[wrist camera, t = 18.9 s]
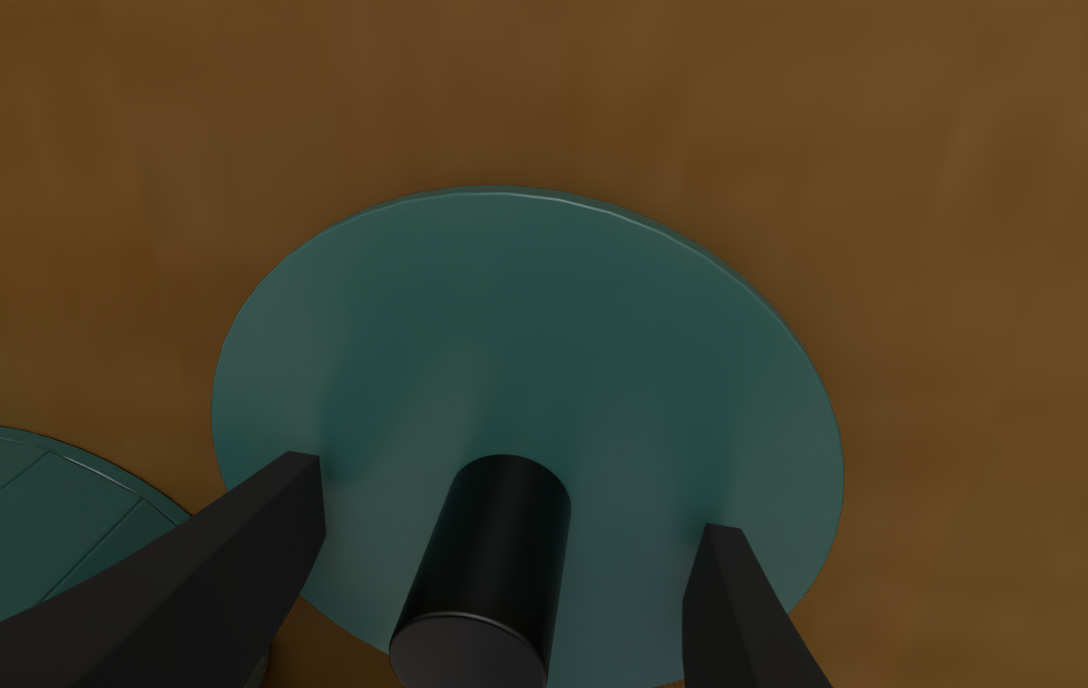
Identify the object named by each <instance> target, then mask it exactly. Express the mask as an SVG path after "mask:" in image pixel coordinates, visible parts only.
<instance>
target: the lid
mask: <svg viewBox="0 0 1088 688" xmlns="http://www.w3.org/2000/svg"><path fill="white" fill-rule="evenodd" d="M211 415H212V432H213V442H214V447H215V451H216V456H217V461H218V465H219V470H220V473H221V475H222V478H223V481H224V484H225V486H226V489H227V492H229V491H230V490H232V489H233V488H235V487H236V486H237V485H239V484H240V483H242V482H243V481H245V480H246V479H247V478H249V477H250V476H252V475H253V474H255V473H256V472H258V471H259V470H260V469H262V468H263V467H265V466H266V465H268V464H269V463H271V462H272V461H273V460H275V459H276V458H278V457H279V456H281V455H282V454H284V453H285V452H287V451H294V452H300V453H306V454H312V455H317V456H319V457H320V468H321V479H322V490H323V501H324V512H325V523H326V534H327V535H326V538H325V540H324V542H323V545H322V547H321V549H320V552H319V554H318V556H317V559H316V561H315V563H314V566H313V568H312V570H311V572H310V574H309V576H308V579H307V581H306V583H305V585H304V587H303V589H302V590H301V592H300V595H301V596H302V597H303V598H304V599H305V600H306V601H308V602H309V603H310V604H311V605H313V606H314V607H315V608H316V609H318V610H319V611H320V612H321V613H323V614H324V615H325V616H326V617H328V618H329V619H330V620H331V621H333V622H334V623H336V624H337V625H339V626H340V627H342V628H343V629H345V630H346V631H348V632H349V633H351V634H353V635H354V636H356V637H357V638H359V639H360V640H362V641H364V642H366V643H368V644H369V645H371V646H373V647H375V648H377V649H379V650H380V651H382V652H384V653H386V654H388V655H389V659H390V663H391V666H392V668H393V670H394V672H395V674H396V676H397V677H398V679H399V680H400V681H401V682H402V684H403V685H404V686H405V687H406V688H653V687H657V686H661V685H665V684H669V683H673V682H676V681H679V680H682V679H684V670H683V660H682V599H683V596H684V593H685V590H686V586H687V583H688V580H689V577H690V573H691V570H692V567H693V564H694V560H695V557H696V554H697V550H698V547H699V544H700V541H701V537H702V534H703V531H704V528H705V524H706V523H712V524H718V525H723V526H729V527H735V528H740V529H741V530H742V531H743V533H744V534H745V536H746V538H747V540H748V542H749V544H750V546H751V548H752V550H753V552H754V554H755V556H756V558H757V560H758V561H759V563H760V565H761V567H762V569H763V571H764V573H765V575H766V577H767V579H768V580H769V582H770V584H771V586H772V588H773V590H774V591H775V593H776V595H777V597H778V599H779V600H780V602H781V604H782V606H783V608H784V609H785V611H786V613H787V614H789V613H790V612H791V610H792V609H793V608H794V607H795V606H796V605H797V603H798V602H799V601H800V600H801V599H802V598H803V596H804V595H805V594H806V593H807V591H808V590H809V588H810V586H811V585H812V583H813V582H814V580H815V578H816V577H817V575H818V574H819V572H820V570H821V569H822V567H823V565H824V563H825V560H826V558H827V555H828V553H829V551H830V548H831V546H832V543H833V541H834V538H835V536H836V532H837V527H838V523H839V518H840V514H841V509H842V505H843V492H844V460H843V453H842V446H841V439H840V432H839V427H838V424H837V421H836V418H835V415H834V412H833V409H832V406H831V403H830V400H829V397H828V394H827V391H826V389H825V387H824V384H823V382H822V380H821V378H820V376H819V374H818V372H817V371H816V369H815V367H814V365H813V363H812V361H811V359H810V357H809V355H808V353H807V351H806V350H805V348H804V346H803V344H802V343H801V341H800V340H799V339H798V337H797V336H796V335H795V333H794V332H793V331H792V329H791V328H790V327H789V325H788V324H787V322H786V321H785V320H784V318H783V317H782V316H781V314H780V313H779V312H778V310H777V309H776V308H775V307H774V306H773V305H772V304H771V303H770V302H769V301H768V300H767V299H766V298H765V297H764V296H763V295H762V294H761V293H760V292H759V291H758V290H757V289H756V288H755V287H754V286H753V285H752V284H751V283H750V282H749V281H748V280H747V279H746V278H745V277H744V276H742V275H741V274H740V273H738V272H737V271H736V270H734V269H733V268H732V267H730V266H729V265H728V264H726V263H725V262H724V261H722V260H721V259H720V258H718V257H717V256H716V255H714V254H713V253H712V252H710V251H709V250H708V249H706V248H705V247H703V246H701V245H700V244H698V243H696V242H694V241H692V240H691V239H689V238H687V237H685V236H683V235H682V234H680V233H678V232H676V231H674V230H673V229H671V228H669V227H667V226H665V225H664V224H662V223H660V222H657V221H655V220H652V219H650V218H647V217H645V216H642V215H640V214H637V213H635V212H632V211H629V210H627V209H624V208H622V207H619V206H617V205H614V204H611V203H607V202H603V201H599V200H595V199H591V198H587V197H583V196H579V195H575V194H571V193H567V192H563V191H557V190H548V189H540V188H531V187H522V186H514V185H489V186H457V187H451V188H444V189H437V190H431V191H424V192H418V193H412V194H409V195H406V196H402V197H399V198H396V199H392V200H389V201H386V202H383V203H379V204H376V205H373V206H369V207H367V208H365V209H363V210H361V211H359V212H357V213H355V214H353V215H351V216H348V217H346V218H344V219H342V220H340V221H338V222H336V223H334V224H332V225H330V226H328V227H327V228H326V229H324V230H323V231H321V232H320V233H318V234H317V235H315V236H314V237H312V238H311V239H309V240H308V241H307V242H305V243H304V244H302V245H301V246H299V247H298V248H296V249H295V250H294V251H292V252H291V253H290V254H288V255H287V256H286V257H285V258H284V259H283V260H282V261H281V262H280V263H279V264H278V265H277V266H276V267H275V268H274V269H273V270H272V271H271V272H270V273H269V274H268V275H266V276H265V277H264V278H263V279H262V280H261V281H260V283H259V284H258V285H257V287H256V288H255V289H254V291H253V292H252V294H251V295H250V296H249V298H248V299H247V300H246V302H245V303H244V305H243V306H242V307H241V309H240V310H239V312H238V314H237V316H236V318H235V320H234V322H233V324H232V326H231V328H230V330H229V332H228V334H227V336H226V338H225V340H224V343H223V346H222V350H221V353H220V357H219V361H218V364H217V368H216V371H215V375H214V384H213V393H212V403H211Z"/></svg>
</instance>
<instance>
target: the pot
mask: <svg viewBox="0 0 1088 688" xmlns="http://www.w3.org/2000/svg"><path fill="white" fill-rule="evenodd" d="M190 517H192V516H190V515H189V514H188V513H187V512H185V511H184V510H183V509H182V508H180V507H179V506H178V505H177V504H175V503H174V502H173V501H172V500H170V499H169V498H168V497H166V496H165V495H163V494H162V493H160V492H159V491H157V490H156V489H154V488H153V487H151V486H150V485H148V484H147V483H145V482H144V481H142V480H141V479H139V478H137V477H136V476H134V475H132V474H130V473H128V472H127V471H125V470H123V469H121V468H119V467H118V466H116V465H114V464H112V463H110V462H108V461H106V460H104V459H102V458H99V457H97V456H95V455H93V454H91V453H89V452H86V451H84V450H82V449H80V448H77V447H74V446H71V445H69V444H66V443H63V442H60V441H57V440H55V439H52V438H49V437H45V436H42V435H38V434H34V433H30V432H26V431H22V430H19V429H12V428H6V427H0V622H1V621H3V620H5V619H7V618H9V617H12V616H14V615H16V614H18V613H20V612H22V611H24V610H27V609H29V608H31V607H33V606H35V605H37V604H39V603H42V602H44V601H46V600H48V599H50V598H52V597H54V596H56V595H58V594H60V593H62V592H64V591H66V590H68V589H69V588H71V587H73V586H75V585H77V584H79V583H81V582H83V581H85V580H87V579H88V578H90V577H92V576H94V575H96V574H98V573H100V572H101V571H103V570H105V569H107V568H109V567H110V566H112V565H114V564H116V563H117V562H119V561H121V560H123V559H124V558H126V557H128V556H130V555H131V554H133V553H134V552H136V551H138V550H139V549H141V548H143V547H144V546H146V545H147V544H149V543H151V542H152V541H154V540H155V539H157V538H159V537H160V536H162V535H164V534H165V533H167V532H168V531H170V530H172V529H173V528H175V527H176V526H178V525H180V524H181V523H183V522H184V521H186V520H187V519H189V518H190ZM268 659H269V646H268V648H267V649H266V651H265V653H264V654H263V656H262V658H261V659H260V661H259V663H258V664H257V666H256V668H255V669H254V671H253V673H252V674H251V676H250V678H249V679H248V681H247V683H246V684H245V686H244V688H259V687H260V685H261V683H262V681H263V680H264V674H265V672H266V669H267V664H268Z"/></svg>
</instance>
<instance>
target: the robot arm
mask: <svg viewBox="0 0 1088 688" xmlns="http://www.w3.org/2000/svg"><path fill="white" fill-rule="evenodd" d="M326 535H327V534H326V523H325V512H324V501H323V490H322V479H321V468H320V457H319V456H317V455H312V454H306V453H300V452H294V451H287V452H285V453H284V454H282V455H281V456H279V457H278V458H276V459H275V460H273V461H272V462H271V463H269V464H268V465H266V466H265V467H263V468H262V469H260V470H259V471H258V472H256V473H255V474H253V475H252V476H250V477H249V478H247V479H246V480H245V481H243V482H242V483H240V484H239V485H237V486H236V487H235V488H233V489H232V490H230V491H229V492H227V493H226V494H224V495H223V496H222V497H220V498H219V499H217V500H216V501H214V502H213V503H211V504H210V505H208V506H207V507H205V508H204V509H202V510H201V511H199V512H198V513H196V514H195V515H193V516H192V517H190V518H189V519H187V520H186V521H184V522H183V523H181V524H180V525H178V526H176V527H175V528H173V529H172V530H170V531H168V532H167V533H165V534H164V535H162V536H160V537H159V538H157V539H155V540H154V541H152V542H151V543H149V544H147V545H146V546H144V547H143V548H141V549H139V550H138V551H136V552H134V553H133V554H131V555H130V556H128V557H126V558H124V559H123V560H121V561H119V562H117V563H116V564H114V565H112V566H110V567H109V568H107V569H105V570H103V571H101V572H100V573H98V574H96V575H94V576H92V577H90V578H88V579H87V580H85V581H83V582H81V583H79V584H77V585H75V586H73V587H71V588H69V589H68V590H66V591H64V592H62V593H60V594H58V595H56V596H54V597H52V598H50V599H48V600H46V601H44V602H42V603H39V604H37V605H35V606H33V607H31V608H29V609H27V610H24V611H22V612H20V613H18V614H16V615H14V616H12V617H9V618H7V619H5V620H3V621H1V622H0V688H244V686H245V684H246V683H247V681H248V679H249V678H250V676H251V674H252V673H253V671H254V669H255V668H256V666H257V664H258V663H259V661H260V659H261V658H262V656H263V654H264V653H265V651H266V649H267V648H268V646H269V644H270V643H271V641H272V639H273V638H274V636H275V634H276V633H277V631H278V629H279V628H280V626H281V624H282V623H283V621H284V619H285V618H286V616H287V614H288V613H289V611H290V609H291V608H292V606H293V604H294V602H295V601H296V599H297V597H298V596H299V594H300V592H301V590H302V589H303V587H304V585H305V583H306V581H307V579H308V576H309V574H310V572H311V570H312V568H313V566H314V563H315V561H316V559H317V556H318V554H319V552H320V549H321V547H322V545H323V542H324V540H325V538H326ZM682 660H683V670H684V680H685V688H833V687H832V685H831V684H830V682H829V681H828V679H827V678H826V676H825V675H824V673H823V672H822V670H821V668H820V667H819V665H818V664H817V662H816V661H815V659H814V658H813V656H812V654H811V653H810V651H809V650H808V648H807V646H806V645H805V643H804V641H803V640H802V638H801V636H800V635H799V633H798V631H797V630H796V628H795V626H794V625H793V623H792V621H791V620H790V618H789V616H788V614H787V613H786V611H785V609H784V608H783V606H782V604H781V602H780V600H779V599H778V597H777V595H776V593H775V591H774V590H773V588H772V586H771V584H770V582H769V580H768V579H767V577H766V575H765V573H764V571H763V569H762V567H761V565H760V563H759V561H758V560H757V558H756V556H755V554H754V552H753V550H752V548H751V546H750V544H749V542H748V540H747V538H746V536H745V534H744V533H743V531H742V530H741V529H740V528H735V527H729V526H723V525H718V524H712V523H706V524H705V528H704V531H703V534H702V537H701V541H700V544H699V547H698V550H697V554H696V557H695V560H694V564H693V567H692V570H691V573H690V577H689V580H688V583H687V586H686V590H685V593H684V596H683V599H682Z"/></svg>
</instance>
